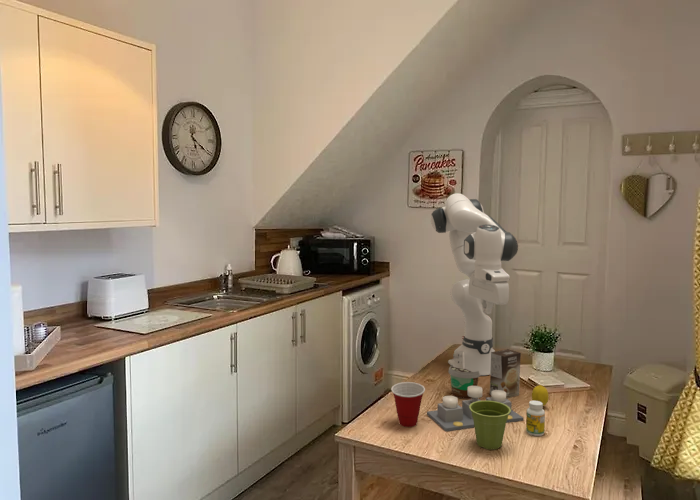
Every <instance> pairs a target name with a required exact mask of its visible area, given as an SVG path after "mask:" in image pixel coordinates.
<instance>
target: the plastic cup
mask: <svg viewBox="0 0 700 500" xmlns="http://www.w3.org/2000/svg"><path fill="white" fill-rule="evenodd" d="M390 391H391V392H392V393H393V394H392V395H393V398H394V402H395V411H396V414H397V419H398V424H399V425H400V426H402V427H406V428H412V427H415V426H417V424H418V420H419V416H420V411H421V406H422V405H421V404H422V399H423V395H424V393H425V391H426V388H425V386H424V385H422V384H420V383H419V382H418V383H417V382H411V381H405V382H404V381H403V382H398V383H395V384H394V385H392V386H391V390H390Z"/></svg>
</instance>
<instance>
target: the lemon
mask: <svg viewBox="0 0 700 500" xmlns="http://www.w3.org/2000/svg"><path fill="white" fill-rule="evenodd" d="M548 391H549V390H548V389H547V388H546V387H545V386H543V385H542V384H539V385H536V386H534V387H533V389H532V391H531V401H540V402H542V403H543V406H546V405H547V403H548V401H549V392H548Z"/></svg>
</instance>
